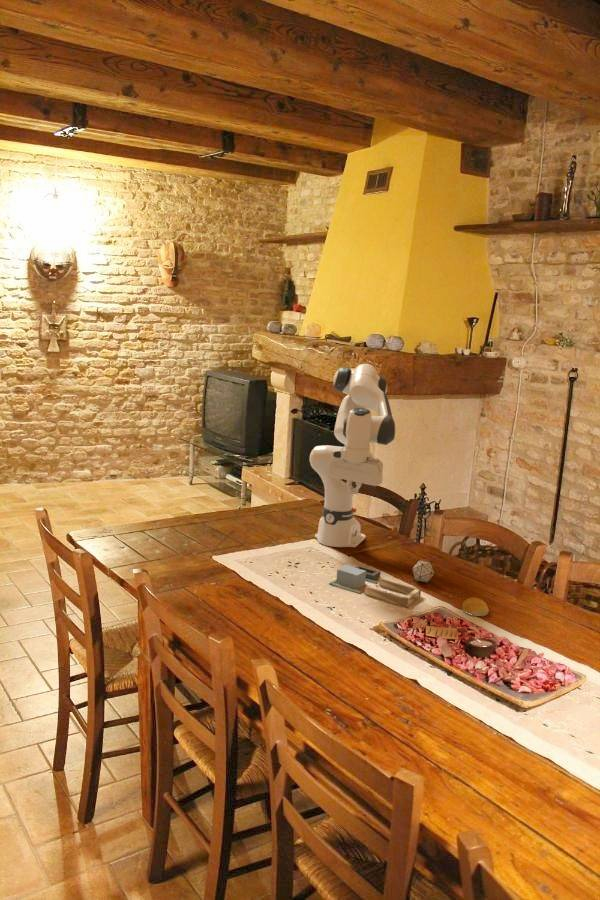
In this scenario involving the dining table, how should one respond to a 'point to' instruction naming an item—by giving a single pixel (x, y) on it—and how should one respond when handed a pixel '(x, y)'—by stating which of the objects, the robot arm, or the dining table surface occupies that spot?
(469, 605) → the bread roll
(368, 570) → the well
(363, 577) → the block
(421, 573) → the game die
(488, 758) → the dining table surface
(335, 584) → the frame
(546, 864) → the dining table surface
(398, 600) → the beige c-shaped frame
